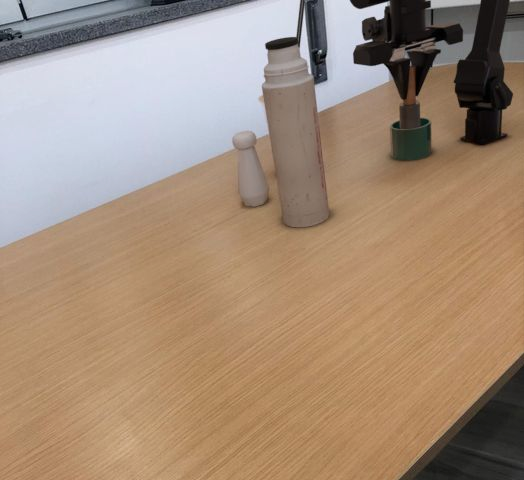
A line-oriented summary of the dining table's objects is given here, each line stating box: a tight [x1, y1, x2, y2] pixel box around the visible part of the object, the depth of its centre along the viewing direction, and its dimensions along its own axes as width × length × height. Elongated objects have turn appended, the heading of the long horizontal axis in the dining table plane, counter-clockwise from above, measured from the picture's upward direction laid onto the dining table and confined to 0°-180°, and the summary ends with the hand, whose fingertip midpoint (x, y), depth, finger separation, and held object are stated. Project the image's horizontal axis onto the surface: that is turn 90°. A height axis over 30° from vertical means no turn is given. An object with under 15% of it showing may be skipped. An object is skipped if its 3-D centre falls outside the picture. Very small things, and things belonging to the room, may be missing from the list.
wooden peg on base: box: [398, 65, 421, 129], centre depth 106 cm, size 4×4×10 cm
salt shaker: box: [231, 130, 270, 208], centre depth 110 cm, size 6×6×13 cm
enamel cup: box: [389, 117, 433, 162], centre depth 119 cm, size 8×8×6 cm
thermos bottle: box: [261, 36, 330, 228], centre depth 96 cm, size 8×8×28 cm
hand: (409, 97), depth 106 cm, fingers closed on wooden peg on base, 2 cm apart
